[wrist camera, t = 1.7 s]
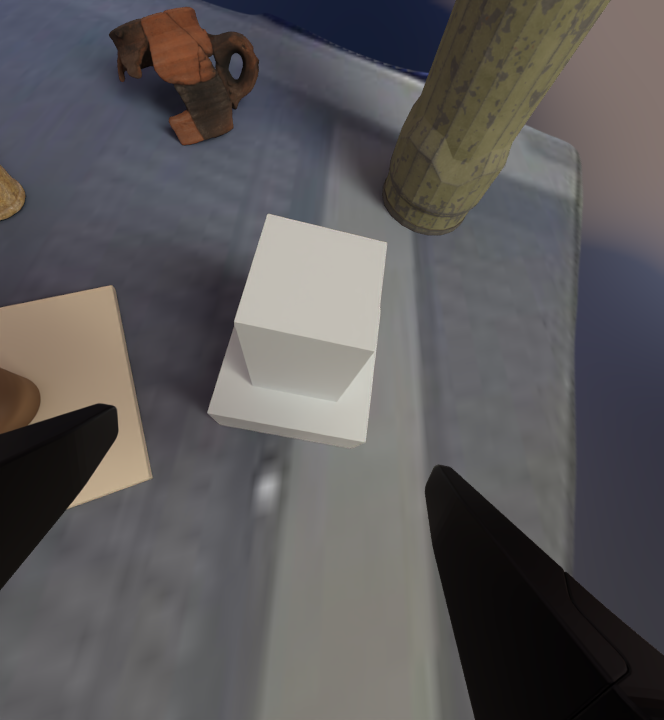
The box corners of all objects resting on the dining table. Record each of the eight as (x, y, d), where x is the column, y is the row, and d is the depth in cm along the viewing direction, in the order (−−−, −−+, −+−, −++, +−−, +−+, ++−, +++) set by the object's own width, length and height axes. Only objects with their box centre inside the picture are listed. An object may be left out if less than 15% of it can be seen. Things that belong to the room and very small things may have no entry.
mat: (152, 478, 19) (149, 478, 19) (-151, 587, 16) (-164, 590, 15) (115, 289, 23) (111, 285, 23) (-134, 340, 19) (-144, 336, 19)
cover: (350, 448, 22) (425, 416, 11) (220, 424, 21) (152, 363, 10) (365, 333, 25) (434, 218, 14) (253, 309, 24) (231, 167, 13)
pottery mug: (152, 160, 29) (80, 32, 23) (167, 140, 35) (115, 37, 29) (277, 120, 29) (239, -19, 23) (269, 107, 35) (238, -2, 29)
